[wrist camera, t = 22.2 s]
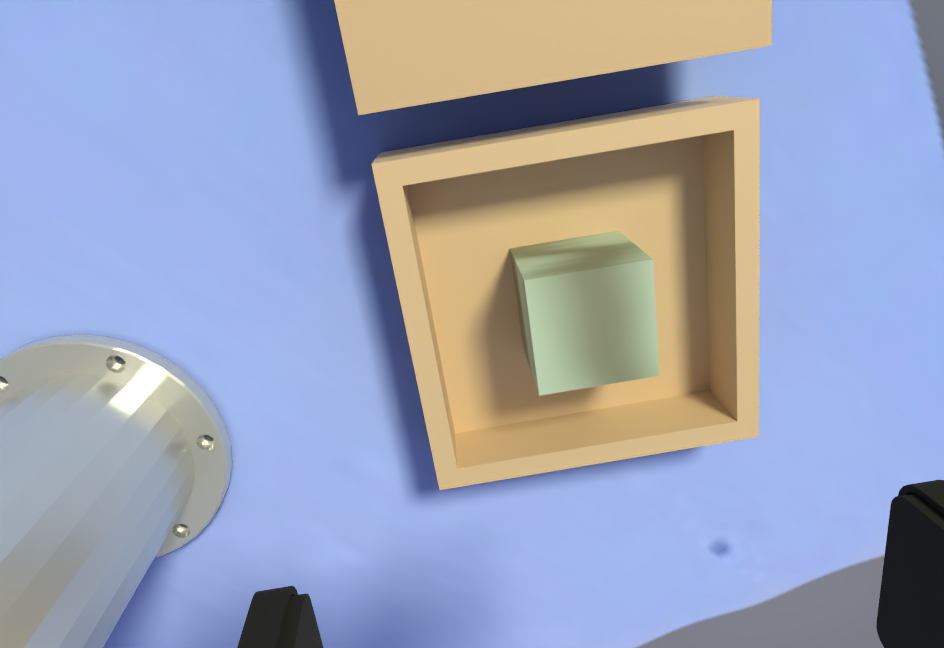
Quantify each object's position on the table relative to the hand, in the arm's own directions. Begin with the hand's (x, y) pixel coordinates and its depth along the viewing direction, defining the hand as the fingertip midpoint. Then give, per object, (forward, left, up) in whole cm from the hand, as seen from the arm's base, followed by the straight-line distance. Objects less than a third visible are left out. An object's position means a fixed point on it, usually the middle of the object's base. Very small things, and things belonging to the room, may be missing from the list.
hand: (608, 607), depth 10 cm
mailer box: (+3, -2, -22) cm, 22 cm away
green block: (+3, -2, -21) cm, 21 cm away
